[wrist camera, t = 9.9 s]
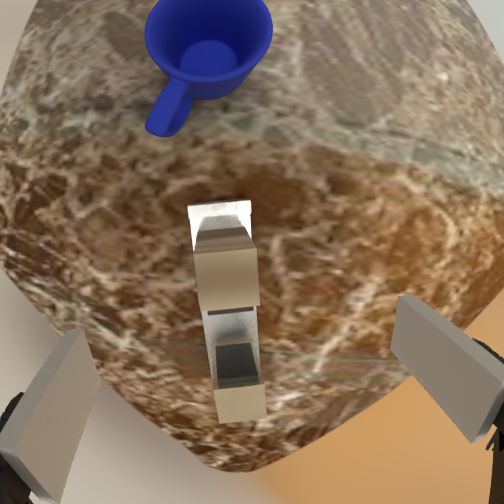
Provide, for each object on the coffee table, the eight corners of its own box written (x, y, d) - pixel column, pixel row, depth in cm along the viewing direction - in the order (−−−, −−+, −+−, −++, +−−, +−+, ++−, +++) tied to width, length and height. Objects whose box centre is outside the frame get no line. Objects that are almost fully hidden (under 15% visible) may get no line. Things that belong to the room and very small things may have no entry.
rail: (190, 200, 29) (180, 218, 19) (245, 195, 29) (262, 211, 20) (212, 370, 34) (216, 434, 24) (257, 365, 34) (272, 428, 25)
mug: (130, 126, 26) (93, 111, 17) (190, 19, 24) (183, -35, 14) (210, 160, 28) (210, 158, 18) (267, 51, 26) (293, 6, 16)
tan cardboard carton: (197, 231, 27) (193, 254, 20) (244, 226, 27) (256, 248, 20) (203, 282, 28) (201, 319, 21) (248, 277, 28) (260, 313, 22)
